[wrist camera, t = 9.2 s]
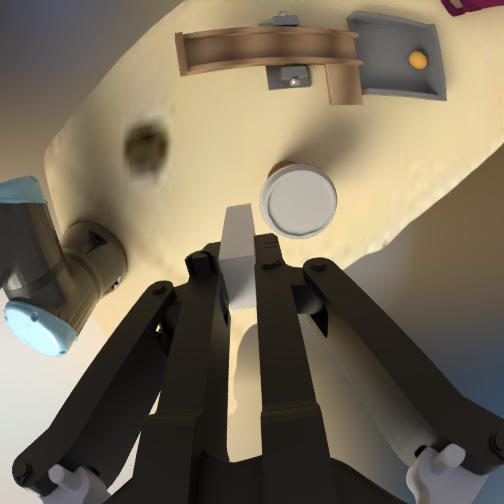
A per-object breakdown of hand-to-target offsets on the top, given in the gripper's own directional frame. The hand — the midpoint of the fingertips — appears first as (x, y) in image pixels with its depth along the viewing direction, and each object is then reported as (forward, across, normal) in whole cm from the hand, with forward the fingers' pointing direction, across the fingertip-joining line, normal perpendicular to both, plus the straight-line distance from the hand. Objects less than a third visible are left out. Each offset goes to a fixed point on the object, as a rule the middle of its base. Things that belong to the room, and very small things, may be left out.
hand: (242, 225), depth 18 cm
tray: (+26, +26, +15) cm, 40 cm away
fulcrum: (+26, +8, +16) cm, 31 cm away
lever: (+20, +6, +13) cm, 25 cm away
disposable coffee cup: (+26, +6, -4) cm, 27 cm away
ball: (+24, +30, +15) cm, 41 cm away
